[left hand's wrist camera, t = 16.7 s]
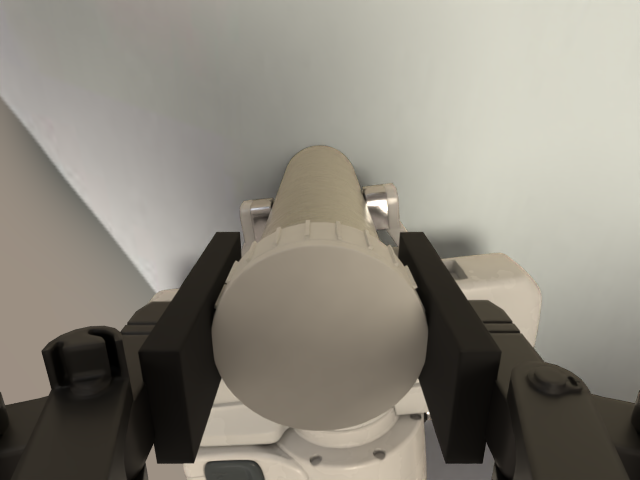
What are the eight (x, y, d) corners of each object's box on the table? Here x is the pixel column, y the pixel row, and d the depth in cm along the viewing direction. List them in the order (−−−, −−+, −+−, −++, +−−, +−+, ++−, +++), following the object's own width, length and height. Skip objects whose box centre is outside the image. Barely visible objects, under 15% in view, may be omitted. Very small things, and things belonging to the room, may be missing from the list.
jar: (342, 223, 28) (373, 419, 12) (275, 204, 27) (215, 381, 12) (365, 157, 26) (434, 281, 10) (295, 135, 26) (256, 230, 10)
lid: (454, 270, 12) (475, 300, 10) (359, 414, 13) (364, 460, 12) (271, 182, 11) (262, 201, 9) (194, 349, 13) (175, 388, 11)
